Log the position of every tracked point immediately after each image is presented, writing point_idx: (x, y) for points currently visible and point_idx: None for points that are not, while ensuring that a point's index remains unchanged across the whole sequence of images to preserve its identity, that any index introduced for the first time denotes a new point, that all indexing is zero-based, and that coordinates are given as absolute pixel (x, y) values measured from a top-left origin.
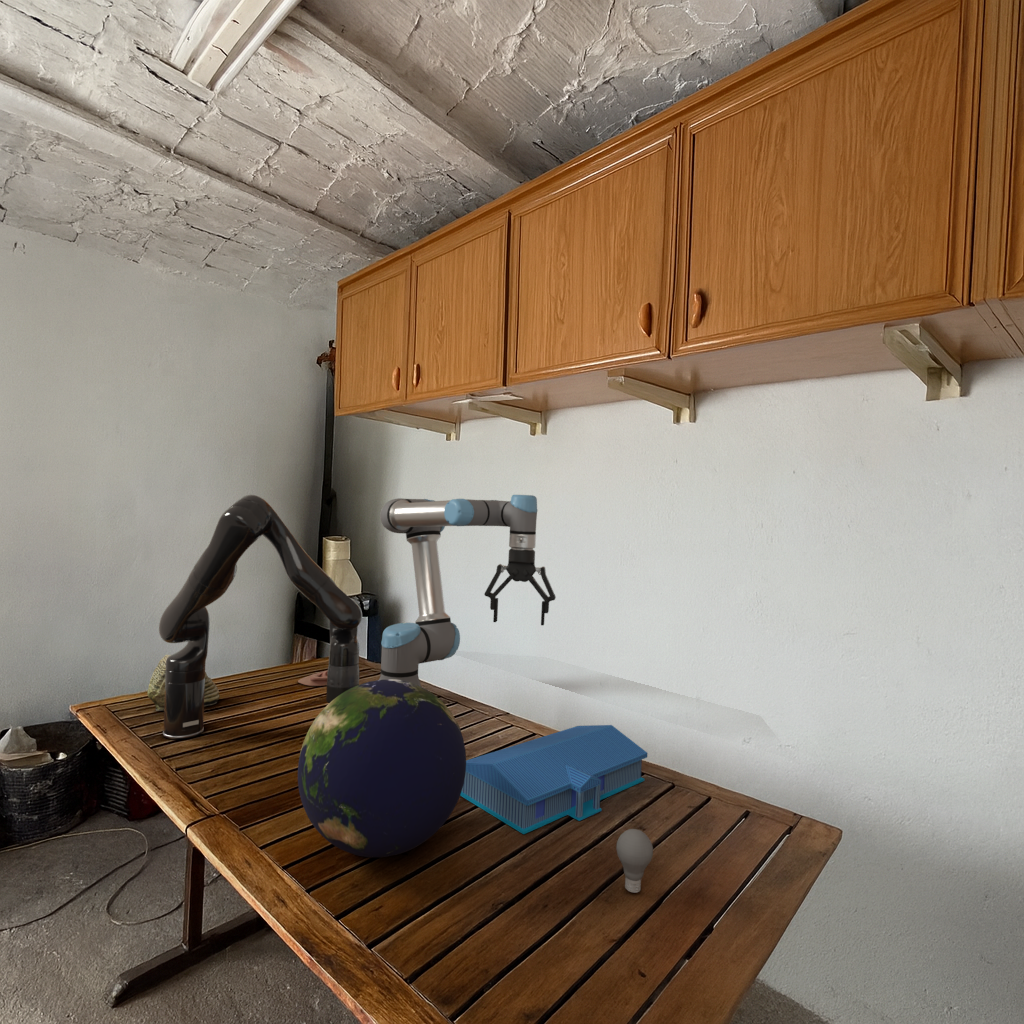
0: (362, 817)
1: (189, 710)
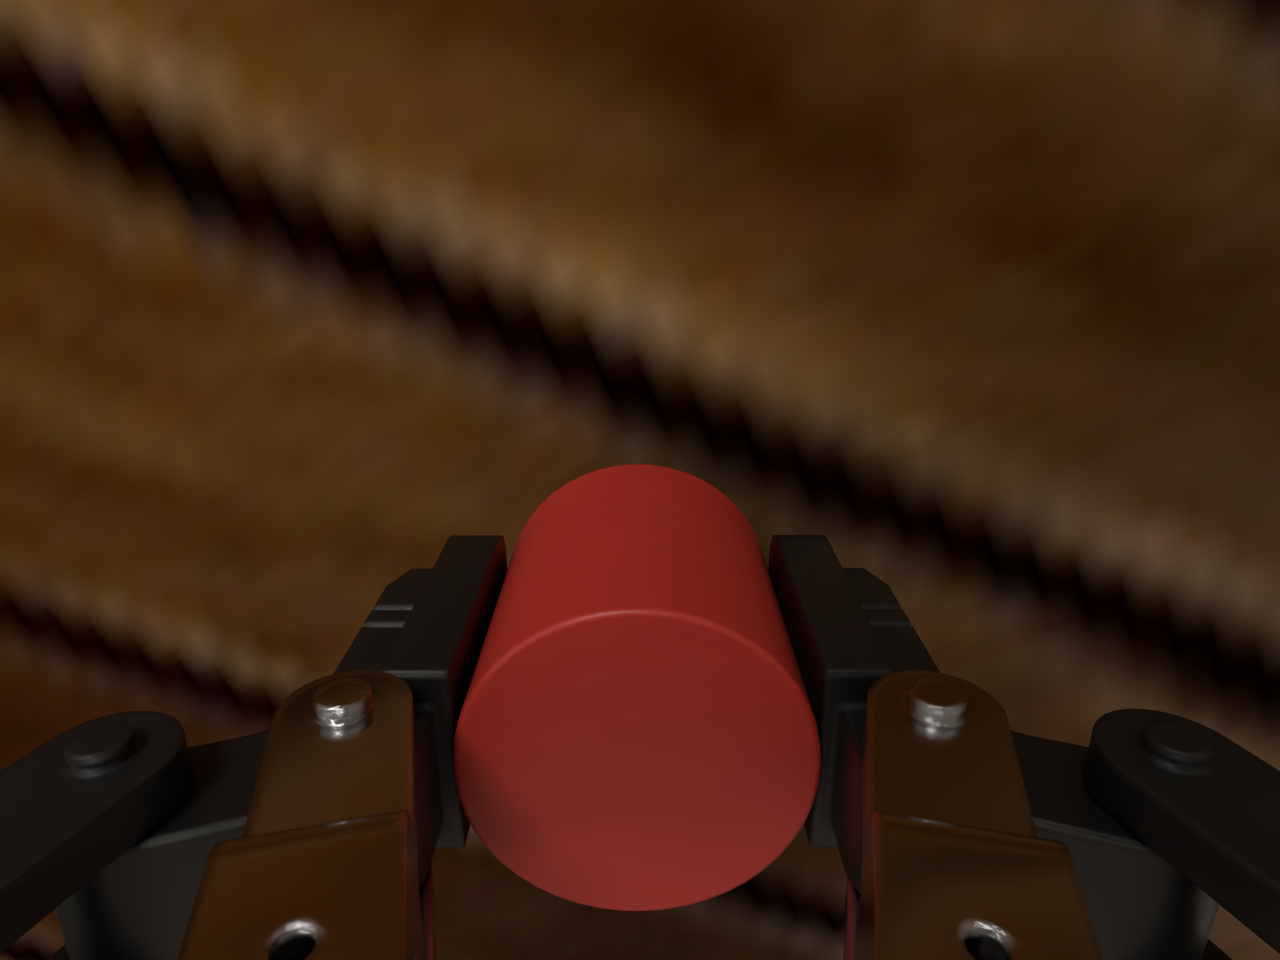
0: None
1: None
